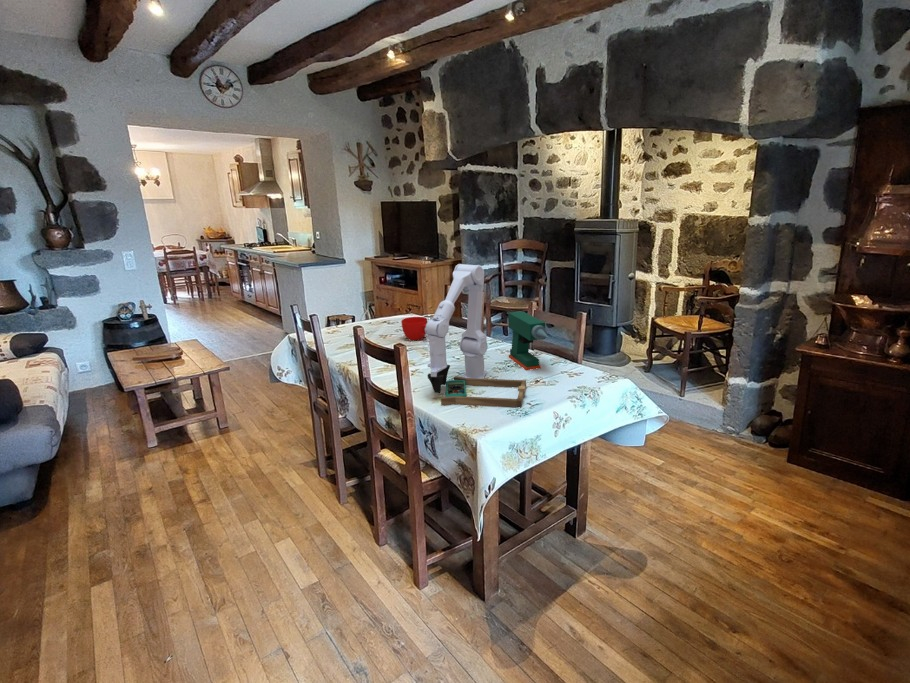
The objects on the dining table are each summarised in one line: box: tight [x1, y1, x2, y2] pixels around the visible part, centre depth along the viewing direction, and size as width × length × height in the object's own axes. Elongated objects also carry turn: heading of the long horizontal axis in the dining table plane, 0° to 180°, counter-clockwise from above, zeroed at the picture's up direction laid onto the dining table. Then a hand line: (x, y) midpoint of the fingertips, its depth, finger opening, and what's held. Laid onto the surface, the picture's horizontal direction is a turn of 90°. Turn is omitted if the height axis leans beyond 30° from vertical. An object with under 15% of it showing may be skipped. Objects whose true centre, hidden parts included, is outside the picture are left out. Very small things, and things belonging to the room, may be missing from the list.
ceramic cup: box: [400, 316, 428, 341], centre depth 246 cm, size 13×17×10 cm
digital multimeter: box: [445, 379, 468, 397], centre depth 178 cm, size 7×15×3 cm, turn 1°
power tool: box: [507, 310, 550, 371], centre depth 198 cm, size 32×7×20 cm, turn 16°
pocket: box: [440, 375, 527, 409], centre depth 175 cm, size 22×28×3 cm
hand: (440, 388), depth 179 cm, fingers open, 7 cm apart
